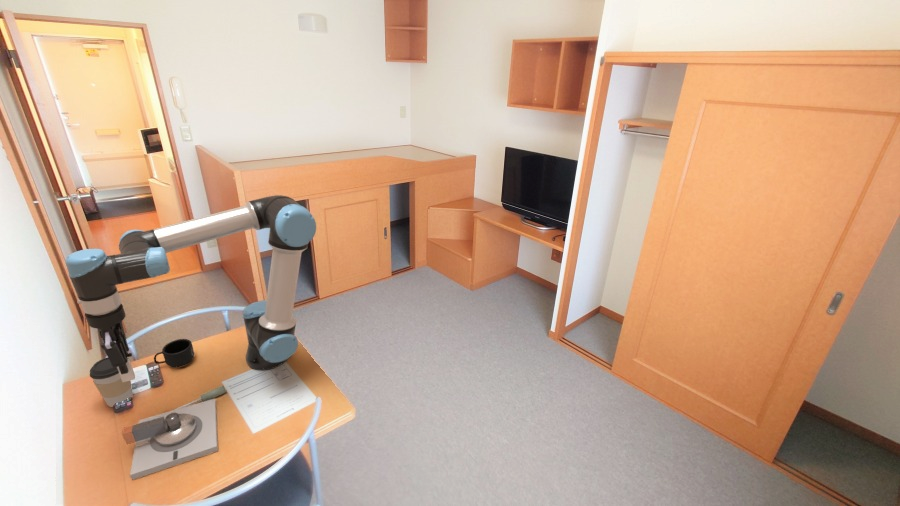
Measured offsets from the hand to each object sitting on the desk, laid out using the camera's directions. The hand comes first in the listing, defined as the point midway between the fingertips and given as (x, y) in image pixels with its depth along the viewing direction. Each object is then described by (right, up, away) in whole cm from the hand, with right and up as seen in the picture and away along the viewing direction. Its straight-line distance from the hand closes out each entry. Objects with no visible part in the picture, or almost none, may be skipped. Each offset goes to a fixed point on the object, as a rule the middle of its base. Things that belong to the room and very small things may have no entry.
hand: (128, 379), depth 112 cm
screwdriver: (+8, -11, +20) cm, 24 cm away
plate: (+9, -20, +7) cm, 23 cm away
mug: (-10, -5, +35) cm, 37 cm away
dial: (+7, -18, +4) cm, 20 cm away
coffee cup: (-18, -12, +19) cm, 28 cm away
